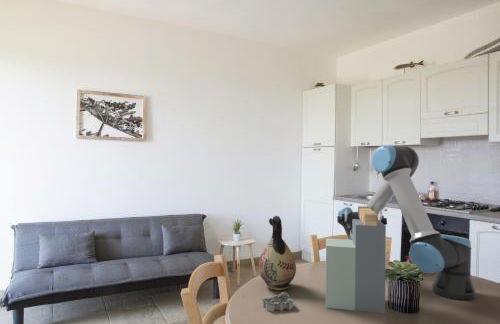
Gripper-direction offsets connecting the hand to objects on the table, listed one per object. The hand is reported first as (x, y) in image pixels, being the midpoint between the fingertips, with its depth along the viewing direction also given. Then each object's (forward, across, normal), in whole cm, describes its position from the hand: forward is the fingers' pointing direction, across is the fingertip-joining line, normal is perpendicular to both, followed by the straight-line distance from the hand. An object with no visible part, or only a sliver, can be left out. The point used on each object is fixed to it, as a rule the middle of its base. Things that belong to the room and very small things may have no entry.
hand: (363, 212), depth 145 cm
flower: (-47, +28, +10) cm, 55 cm away
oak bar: (+7, 0, +6) cm, 9 cm away
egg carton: (+5, -32, +40) cm, 51 cm away
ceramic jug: (-12, -34, +30) cm, 47 cm away
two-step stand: (-4, -5, +34) cm, 35 cm away
